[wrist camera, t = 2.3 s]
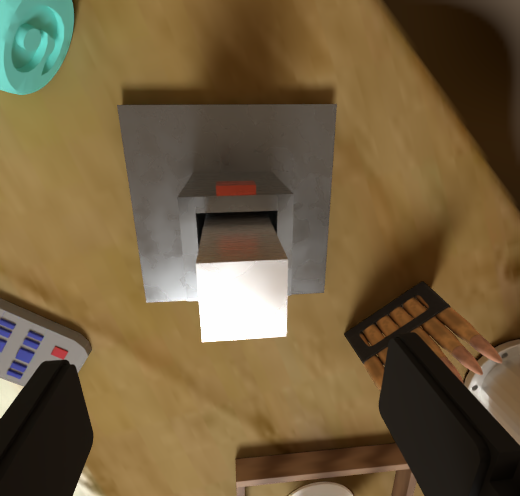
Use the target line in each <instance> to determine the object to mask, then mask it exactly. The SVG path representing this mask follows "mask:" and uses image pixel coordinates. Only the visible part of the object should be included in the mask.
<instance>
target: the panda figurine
mask: <svg viewBox="0 0 520 496" xmlns="http://www.w3.org/2000/svg"><path fill="white" fill-rule="evenodd" d="M288 496H353V494H352V492H351V491H350V490H349V489H348V488H347V487H345V486H343V485H341V484H338V483H334V482H316V483H311V484H308V485H305V486H302V487H300V488H298V489H296V490H295V491H293V492H292V493H291V494H289V495H288Z"/></svg>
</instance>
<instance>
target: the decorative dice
mask: <svg viewBox="0 0 520 496" xmlns="http://www.w3.org/2000/svg"><path fill="white" fill-rule="evenodd" d="M73 27H74V8H73V3H72V0H0V90H3V91H6V92H10V93H14V94H19V95H25V94H29V93H33V92H36V91H38V90H39V89H41V88H43V87H44V86H45V85H46V84H47V83H48V82H49V81H50V80H51V79H52V78H53V77H54V75H55V74H56V73H57V71H58V70H59V68H60V66H61V65H62V63H63V61H64V59H65V56H66V54H67V51H68V49H69V46H70V42H71V38H72V33H73Z"/></svg>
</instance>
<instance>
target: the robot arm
mask: <svg viewBox="0 0 520 496" xmlns="http://www.w3.org/2000/svg"><path fill="white" fill-rule="evenodd" d="M495 350H496V351H497V352H498V354H499V355H500V357H501V359H502V363H497V362H495V361H492V360H490V359H489V358H487V357H485V356H484V355H483V356H482V357H481V358H480V359H479V360H478V361H477V362H478V364H479V365H480V367H481V369H482V372H483V375H479V374H476V373H474V372H473V371H471V370H470V371H469V373H468V375H467V377H466V379H465V382H464V384H463V383H462V382H461V381H460V380H459V379H458V378H457V377H456V375H455V374H454V373H453V372H452V371H451V370H450V369H449V368H448V367H447V366H446V365H445V363H444V362H443V361H442V360H441V359H440V358H439V357H438V356H437V355H436V354H435V353H434V351H433V350H432V349H431V348H430V347H429V346H428V345H427V344H426V343H425V342H424V341H423V340H422V338H421V337H420V336H419V335H418V334H417V333H415V332H408V333H397V334H395V335H394V337H393V339H390V340H389V343H388V349H387V355H386V362H385V368H384V374H383V380H382V386H381V393H380V399H379V411H380V414H381V416H382V418H383V420H384V422H385V424H386V426H387V428H388V429H389V431H390V433H391V435H392V437H393V439H394V440H395V442H396V444H397V446H398V448H399V450H400V451H401V453H402V455H403V457H404V459H405V461H406V462H407V464H408V466H409V468H410V470H411V472H412V473H413V475H414V477H415V479H416V481H417V483H418V484H419V486H420V488H421V490H422V492H423V494H424V495H425V496H520V339H518V340H513V341H509V342H506V343H504V344H501V345H499V346H497V347H495ZM502 426H503V427H504V428H505V429H504V428H503V427H502ZM514 439H515V440H514ZM92 443H93V430H92V426H91V422H90V419H89V415H88V411H87V407H86V403H85V400H84V396H83V392H82V388H81V384H80V380H79V377H78V373H77V369H76V366H75V365H74V364H70V363H69V361H68V360H52V361H44V362H42V363H41V364H40V365H39V367H38V368H37V370H36V371H35V372H34V374H33V375H32V376H31V378H30V379H29V381H28V382H27V383H26V385H25V386H24V387H23V389H22V390H21V392H20V393H19V394H18V396H17V397H16V398H15V400H14V401H13V403H12V404H11V405H10V407H9V408H8V409H7V411H6V412H5V414H4V415H3V416H2V418H0V496H73V493H74V491H75V488H76V486H77V483H78V480H79V478H80V475H81V473H82V470H83V468H84V465H85V462H86V460H87V457H88V455H89V452H90V450H91V447H92Z"/></svg>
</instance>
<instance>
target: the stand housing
mask: <svg viewBox="0 0 520 496" xmlns="http://www.w3.org/2000/svg"><path fill="white" fill-rule="evenodd" d="M117 107H118V114H119V120H120V127H121V134H122V141H123V147H124V154H125V161H126V168H127V174H128V181H129V188H130V195H131V201H132V208H133V215H134V222H135V228H136V235H137V242H138V249H139V255H140V262H141V269H142V276H143V282H144V289H145V296H146V303H148V302H165V301H183V300H187V301H199V297H198V285H197V273H196V260H197V255H198V250H199V245H200V241H201V236H202V231H203V226H204V221H205V216H206V213H220V212H250V211H266V212H267V215H268V217H269V219H270V221H271V223H272V225H273V228H274V230H275V232H276V234H277V236H278V238H279V241H280V243H281V245H282V247H283V249H284V251H285V253H286V256H287V258H288V290H287V296H290V295H291V294H308V293H324V285H325V271H326V256H327V241H328V226H329V211H330V197H331V182H332V167H333V152H334V137H335V122H336V108H337V104H254V105H117Z"/></svg>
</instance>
